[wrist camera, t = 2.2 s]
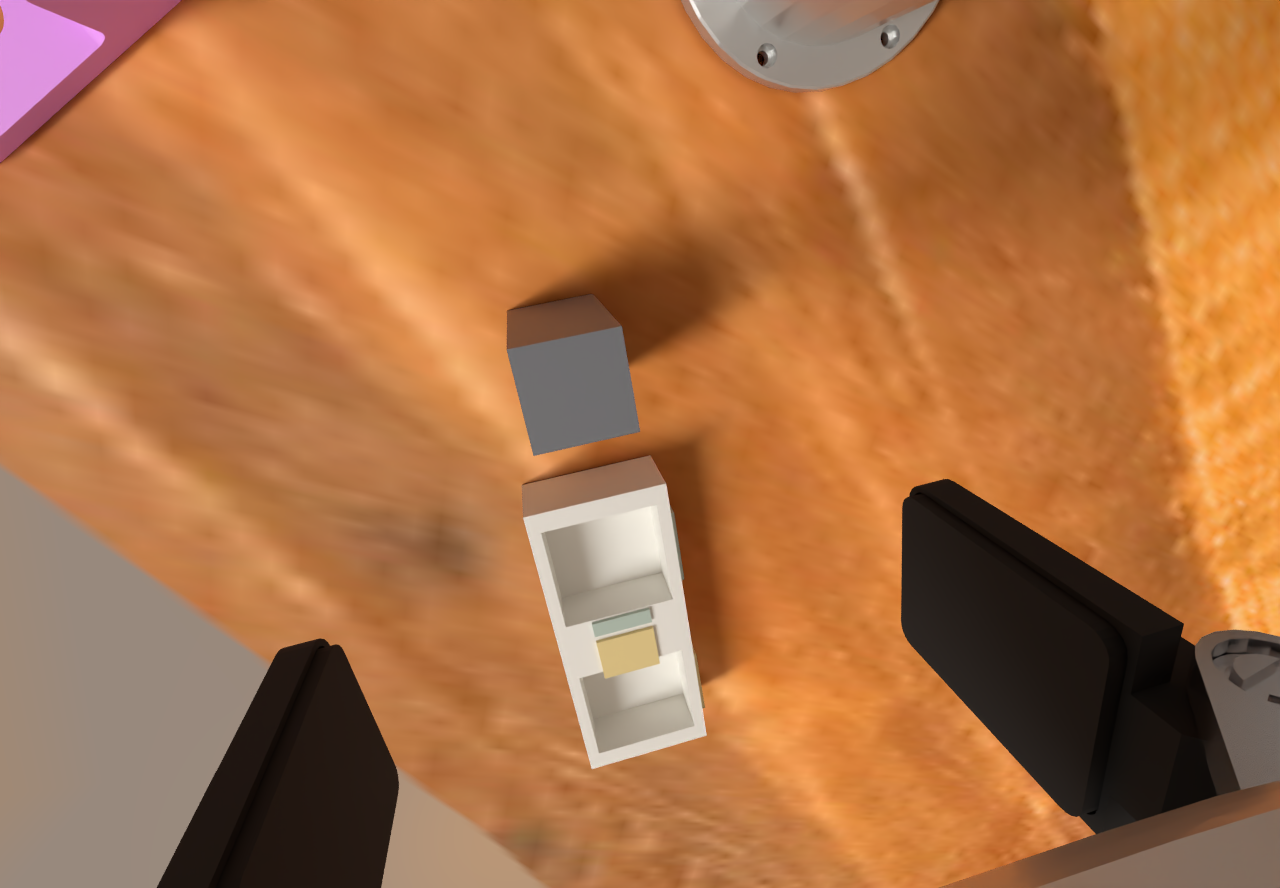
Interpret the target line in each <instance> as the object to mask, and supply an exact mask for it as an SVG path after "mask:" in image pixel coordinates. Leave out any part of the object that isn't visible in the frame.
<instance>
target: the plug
mask: <svg viewBox="0 0 1280 888" xmlns="http://www.w3.org/2000/svg"><path fill="white" fill-rule="evenodd" d="M507 353H508V357H509V361H510V364H511V368H512V372H513V376H514V380H515V384H516V388H517V392H518V396H519V400H520V404H521V408H522V412H523V416H524V420H525V424H526V428H527V432H528V435H529V439H530V443H531V447H532V451H533V455H534V456H535V455H540V454H544V453H548V452H553V451H557V450H562V449H566V448H570V447H575V446H579V445H584V444H588V443H593V442H597V441H601V440H606V439H610V438H615V437H619V436H623V435H628V434H632V433H637V432H640V428H639V422H638V417H637V411H636V405H635V399H634V394H633V388H632V382H631V376H630V371H629V365H628V359H627V353H626V348H625V342H624V336H623V330H622V326H621V325H620V324H619V322H618V321H617V320H616V319H615V318H614V317H613V316H612V315H611V313H610V312H609V311H608V310H607V309H606V308H605V307H604V306H603V305H602V303H601V302H600V301H599V300H598V299H597V298H596V297H595V296H594V295H593V294H589V295H584V296H579V297H573V298H568V299H563V300H558V301H553V302H548V303H543V304H538V305H533V306H528V307H523V308H518V309H513V310H507Z"/></svg>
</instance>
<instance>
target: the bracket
mask: <svg viewBox="0 0 1280 888" xmlns="http://www.w3.org/2000/svg"><path fill="white" fill-rule="evenodd" d="M180 1H181V0H0V6H1V8H2V11H3V15H4V27H3V30H2V32H1V34H0V163H1V162H2V161H3V160H4V159H5V158H6V157H8V156H9V155H10V154H11V153H12V152H13V151H14V150H15V149H16V148H18V147H19V146H20V145H21V144H22V143H23V142H24V141H25V140H27V139H28V138H29V137H30V136H31V135H32V134H33V133H34V132H35V131H37V130H38V129H39V128H40V127H41V126H42V125H43V124H44V123H45V122H47V121H48V120H49V119H50V118H51V117H52V116H53V115H54V114H55V113H57V112H58V111H59V110H60V109H61V108H62V107H63V106H64V105H65V104H67V103H68V102H69V101H70V100H71V99H72V98H73V97H74V96H76V95H77V94H78V93H79V92H80V91H81V90H82V89H83V88H84V87H86V86H87V85H88V84H89V83H90V82H91V81H92V80H93V79H94V78H96V77H97V76H98V75H99V74H100V73H101V72H102V71H103V70H104V69H106V68H107V67H108V66H109V65H110V64H111V63H112V62H113V61H114V60H116V59H117V58H118V57H119V56H120V55H121V54H122V53H123V52H125V51H126V50H127V49H128V48H129V47H130V46H131V45H132V44H133V43H135V42H136V41H137V40H138V39H139V38H140V37H141V36H142V35H143V34H145V33H146V32H147V31H148V30H149V29H150V28H151V27H152V26H153V25H155V24H156V23H157V22H158V21H159V20H160V19H161V18H162V17H163V16H165V15H166V14H167V13H168V12H169V11H170V10H171V9H172V8H174V7H175V6H176V5H177V4H178V3H179V2H180Z"/></svg>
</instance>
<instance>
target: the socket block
mask: <svg viewBox="0 0 1280 888" xmlns="http://www.w3.org/2000/svg"><path fill="white" fill-rule="evenodd" d="M522 503H523V519H524V522H525V526H526V530H527V533H528V537H529V541H530V544H531V548H532V552H533V555H534V559H535V563H536V566H537V570H538V574H539V577H540V581H541V585H542V588H543V592H544V596H545V599H546V603H547V607H548V610H549V614H550V618H551V621H552V625H553V629H554V632H555V636H556V640H557V643H558V647H559V650H560V654H561V658H562V661H563V665H564V669H565V672H566V676H567V680H568V683H569V687H570V691H571V694H572V698H573V702H574V705H575V709H576V713H577V716H578V720H579V724H580V727H581V731H582V735H583V738H584V742H585V746H586V749H587V753H588V757H589V760H590V764H591V768H592V769H594V768H597V767H601V766H604V765H607V764H611V763H614V762H618V761H621V760H624V759H628V758H631V757H635V756H638V755H642V754H645V753H648V752H652V751H655V750H659V749H662V748H666V747H669V746H672V745H676V744H679V743H683V742H686V741H689V740H693V739H696V738H700V737H703V736H707V734H706V728H705V722H704V716H703V710H702V708H705V706H704V699H703V693H702V687H701V680H700V674H699V668H698V662H697V655H696V652H695V650H694V647H693V645H692V641H691V635H690V629H689V623H688V616H687V610H686V604H685V598H684V591H683V585H682V580H684V573H683V567H682V561H681V554H680V548H679V542H678V535H677V529H676V523H675V516H674V512H673V510H672V508H671V506H670V504H669V498H668V492H667V486H666V482H665V481H664V479H663V477H662V475H661V473H660V472H659V470H658V468H657V466H656V464H655V463H654V461H653V459H652V457H651V455H649V456H645V457H641V458H636V459H632V460H628V461H623V462H619V463H615V464H610V465H606V466H602V467H597V468H593V469H589V470H585V471H580V472H576V473H572V474H567V475H563V476H559V477H554V478H550V479H546V480H541V481H537V482H533V483H529V484H524V485H522Z"/></svg>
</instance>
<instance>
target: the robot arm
mask: <svg viewBox="0 0 1280 888" xmlns="http://www.w3.org/2000/svg"><path fill="white" fill-rule="evenodd" d="M681 1H682V4H683V6H684V9H685V11H686V12H687V14H688V16H689V17H690V19H691V20H692V22H693V24H694V25H695V27H696V29H697V30H698V32H699V33H700V35H701V37H702V38H703V39H704V40H705V41H706V42H707V44H708V45H709V46H710V47H711V48H712V49H713V50H714V51H715V52H716V54H717V55H718V56H719V57H720V58H721V59H722V60H723V61H724V62H726V63H727V64H728V65H730V66H731V67H732V68H734V69H735V70H737V71H738V72H739V73H741V74H742V75H743V76H745V77H747V78H749V79H751V80H753V81H756V82H758V83H760V84H762V85H765V86H767V87H769V88H773V89H779V90H784V91H789V92H795V93H798V92H819V91H824V90H828V89H831V88H835V87H839V86H843V85H846V84H848V83H850V82H853V81H855V80H858V79H860V78H863V77H865V76H868V75H869V74H871V73H872V72H874V71H875V70H877V69H878V68H880V67H881V66H883V65H884V64H886V63H887V62H889V61H890V60H892V59H893V58H894V57H895V56H896V55H897V54H898V53H899V52H900V51H901V50H902V49H903V48H904V47H905V46H906V45H907V44H909V43H910V42H911V41H912V40H913V39H914V37H915V36H916V35H917V33H918V32H919V31H920V29H921V28H922V27H923V25H924V24H925V23H926V21H927V20H928V19H929V17H930V16H931V15H932V13H933V11H934V10H935V8H936V6H937V4H938V2H939V0H681ZM881 37H882V39H883V44H882V43H881ZM758 53H759V54H761V55H762V56H763V58H764V64H763V65H762V66H761V65H760V64H759V63H758V60H757V54H758ZM901 623H902V629H903V632H904V634H905V637H906V638H907V640H908V642H909V643H910V644H911V646H912V647H913V648H914V649H915V650H916V651H917V652H918V653H919V654H920V655H921V656H922V657H923V659H924V660H925V661H926V662H927V663H928V664H929V665H930V666H931V667H932V668H933V669H934V671H935V672H936V673H937V674H938V675H939V676H940V677H941V678H942V679H943V680H944V681H945V683H946V684H947V685H948V686H949V687H950V688H951V689H952V690H953V691H954V692H955V693H956V694H957V696H958V697H959V698H960V699H961V700H962V701H963V702H964V703H965V704H966V705H967V706H968V708H969V709H970V710H971V711H972V712H973V713H974V714H975V715H976V716H977V717H978V718H979V719H980V721H981V722H982V723H983V724H984V725H985V726H986V727H987V728H988V729H989V730H990V731H991V733H992V734H993V735H994V736H995V737H996V738H997V739H998V740H999V741H1000V742H1001V743H1002V744H1003V746H1004V747H1005V748H1006V749H1007V750H1008V751H1009V752H1010V753H1011V754H1012V755H1013V756H1014V758H1015V759H1016V760H1017V761H1018V762H1019V763H1020V764H1021V765H1022V766H1023V767H1024V768H1025V769H1026V771H1027V772H1028V773H1029V774H1030V775H1031V776H1032V777H1033V778H1034V779H1035V780H1036V781H1037V783H1038V784H1039V785H1040V786H1041V787H1042V788H1043V789H1044V790H1045V791H1046V792H1047V793H1048V794H1049V796H1050V797H1051V798H1052V799H1053V800H1054V801H1055V802H1056V803H1057V804H1058V805H1059V806H1060V807H1061V808H1062V809H1063V810H1064V811H1065V812H1066V813H1068V814H1070V815H1071V816H1075V817H1077V816H1080V817H1081V819H1082V820H1083V821H1084V822H1085V823H1086V824H1087V825H1088V826H1089V827H1090V828H1091V829H1092V830H1093V831H1094V832H1095V833H1096V835H1093V836H1090V837H1087V838H1084V839H1081V840H1078V841H1075V842H1072V843H1069V844H1066V845H1063V846H1060V847H1057V848H1054V849H1052V850H1049V851H1046V852H1043V853H1040V854H1037V855H1034V856H1031V857H1028V858H1025V859H1022V860H1019V861H1016V862H1013V863H1010V864H1007V865H1004V866H1002V867H999V868H996V869H993V870H990V871H987V872H984V873H981V874H978V875H975V876H972V877H969V878H966V879H963V880H960V881H957V882H954V883H952V884H949V885H946V886H943V887H940V888H1280V637H1279V636H1274V635H1270V634H1265V633H1261V632H1255V631H1243V630H1227V631H1217V632H1213V633H1211V634H1208V635H1206V636H1204V637H1202V638H1201V639H1200V640H1199V642H1198V643H1197V644H1196V645H1193V644H1191V643H1190V642H1188V641H1187V640H1185V639H1184V638H1182V637H1181V634H1182V630H1183V625H1184V624H1183V623H1182V622H1180V621H1178V620H1177V619H1175V618H1174V617H1172V616H1170V615H1169V614H1167V613H1165V612H1164V611H1162V610H1161V609H1159V608H1157V607H1156V606H1154V605H1153V604H1151V603H1149V602H1148V601H1146V600H1144V599H1143V598H1141V597H1140V596H1138V595H1136V594H1135V593H1133V592H1132V591H1130V590H1128V589H1127V588H1125V587H1123V586H1122V585H1120V584H1119V583H1117V582H1115V581H1114V580H1112V579H1111V578H1109V577H1107V576H1106V575H1104V574H1102V573H1101V572H1099V571H1098V570H1096V569H1094V568H1093V567H1091V566H1090V565H1088V564H1086V563H1085V562H1083V561H1081V560H1080V559H1078V558H1077V557H1075V556H1073V555H1072V554H1070V553H1069V552H1067V551H1065V550H1064V549H1062V548H1060V547H1059V546H1057V545H1056V544H1054V543H1052V542H1051V541H1049V540H1047V539H1046V538H1044V537H1043V536H1041V535H1039V534H1038V533H1036V532H1035V531H1033V530H1031V529H1030V528H1028V527H1026V526H1025V525H1023V524H1022V523H1020V522H1018V521H1017V520H1015V519H1014V518H1012V517H1010V516H1009V515H1007V514H1005V513H1004V512H1002V511H1001V510H999V509H997V508H996V507H994V506H993V505H991V504H989V503H988V502H986V501H984V500H983V499H981V498H980V497H978V496H976V495H975V494H973V493H972V492H970V491H968V490H967V489H965V488H963V487H962V486H960V485H959V484H957V483H955V482H954V481H951V480H949V479H943V480H939V481H935V482H932V483H928V484H924V485H920V486H916V487H914V488H913V489H912V490H911V492H910V496H909V497H907V498H906V499H905V500H904V502H903V507H902V601H901ZM398 790H399V781H398V774H397V769H396V766H395V764H394V762H393V759H392V757H391V755H390V753H389V750H388V748H387V746H386V744H385V742H384V739H383V737H382V735H381V733H380V730H379V728H378V726H377V724H376V722H375V719H374V717H373V715H372V713H371V710H370V708H369V706H368V704H367V702H366V699H365V697H364V695H363V693H362V691H361V688H360V686H359V684H358V682H357V679H356V677H355V675H354V673H353V671H352V668H351V666H350V664H349V662H348V659H347V657H346V655H345V653H344V651H343V649H342V647H340V646H339V645H332V646H330V645H329V643H328V642H327V641H326V640H325V639H321V638H320V639H316V640H312V641H308V642H304V643H301V644H297V645H293V646H289V647H285V648H282V649H280V650H279V651H278V653H277V654H276V656H275V658H274V660H273V662H272V664H271V666H270V668H269V669H268V671H267V674H266V676H265V677H264V679H263V681H262V683H261V685H260V687H259V689H258V691H257V693H256V695H255V697H254V699H253V701H252V703H251V705H250V707H249V709H248V711H247V713H246V715H245V717H244V719H243V720H242V723H241V724H240V727H239V728H238V730H237V732H236V735H235V737H234V738H233V740H232V742H231V744H230V746H229V748H228V750H227V752H226V754H225V756H224V758H223V760H222V762H221V764H220V766H219V768H218V770H217V771H216V773H215V775H214V777H213V779H212V781H211V782H210V784H209V786H208V788H207V790H206V792H205V794H204V796H203V798H202V800H201V802H200V804H199V806H198V808H197V810H196V812H195V814H194V816H193V818H192V820H191V822H190V824H189V826H188V828H187V830H186V832H185V833H184V835H183V837H182V839H181V841H180V843H179V845H178V847H177V849H176V851H175V853H174V855H173V857H172V859H171V861H170V863H169V865H168V867H167V869H166V871H165V873H164V875H163V876H162V879H161V881H160V882H159V885H158V886H157V888H381V885H382V879H383V874H384V868H385V863H386V857H387V852H388V846H389V841H390V835H391V830H392V824H393V819H394V813H395V808H396V802H397V796H398Z"/></svg>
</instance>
